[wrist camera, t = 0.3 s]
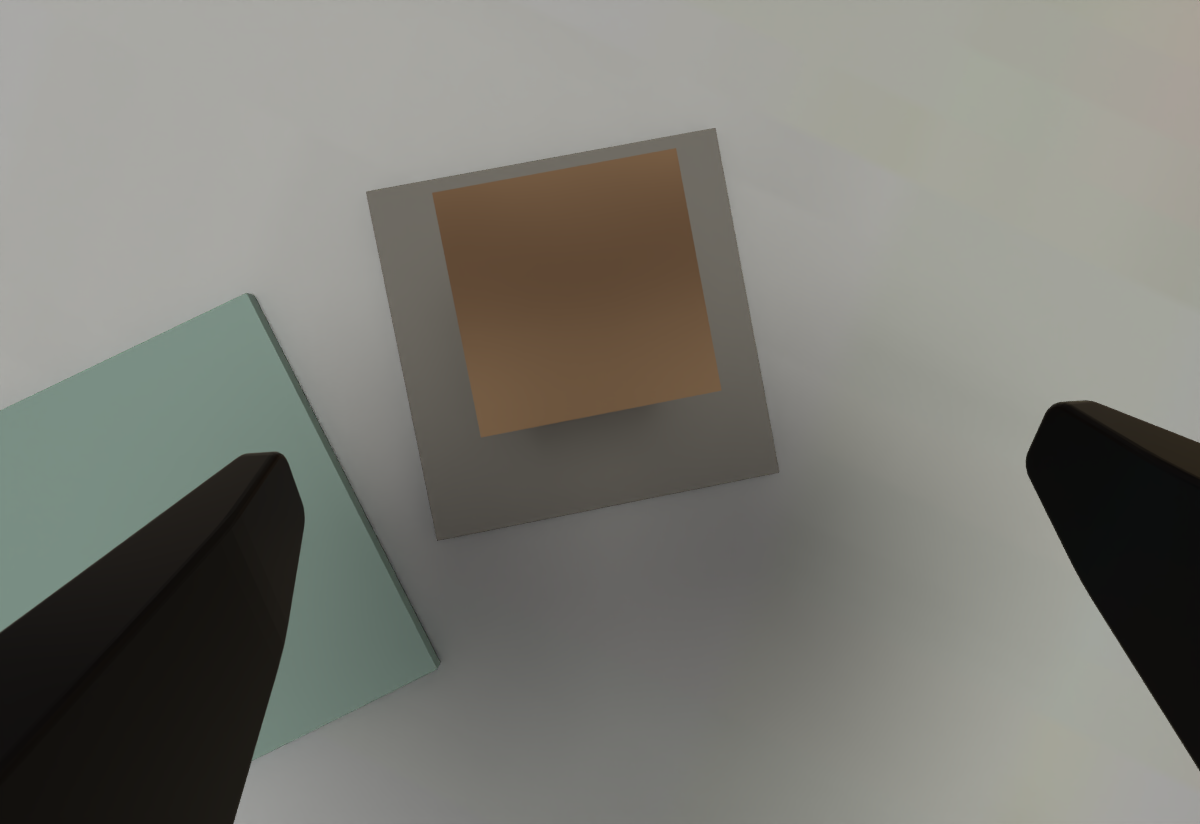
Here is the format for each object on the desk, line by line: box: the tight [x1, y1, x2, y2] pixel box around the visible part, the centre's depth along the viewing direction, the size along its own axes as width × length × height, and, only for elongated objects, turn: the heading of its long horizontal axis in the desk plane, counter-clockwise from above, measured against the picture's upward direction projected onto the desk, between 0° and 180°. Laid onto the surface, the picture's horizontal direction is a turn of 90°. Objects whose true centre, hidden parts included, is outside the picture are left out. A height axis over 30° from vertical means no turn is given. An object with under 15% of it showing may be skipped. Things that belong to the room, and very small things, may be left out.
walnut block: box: [432, 148, 722, 437], centre depth 17 cm, size 4×4×9 cm
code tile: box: [366, 128, 779, 541], centre depth 22 cm, size 11×11×1 cm
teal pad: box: [0, 293, 440, 761], centre depth 22 cm, size 13×13×1 cm
